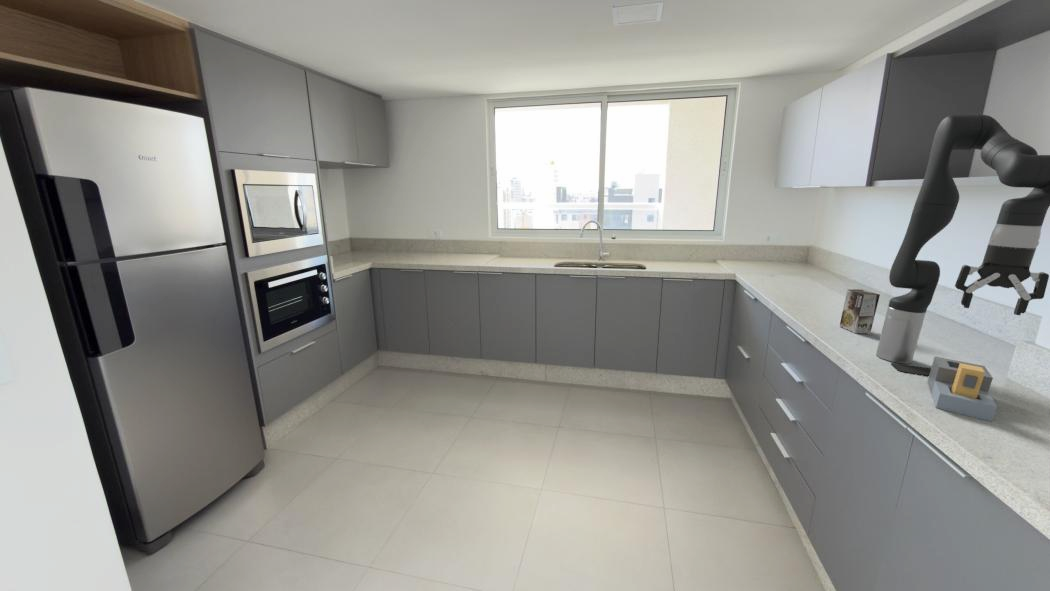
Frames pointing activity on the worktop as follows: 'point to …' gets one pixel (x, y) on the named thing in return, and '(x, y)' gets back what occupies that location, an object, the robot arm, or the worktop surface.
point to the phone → (911, 369)
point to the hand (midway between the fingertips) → (990, 310)
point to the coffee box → (859, 310)
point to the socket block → (944, 399)
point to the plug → (968, 380)
